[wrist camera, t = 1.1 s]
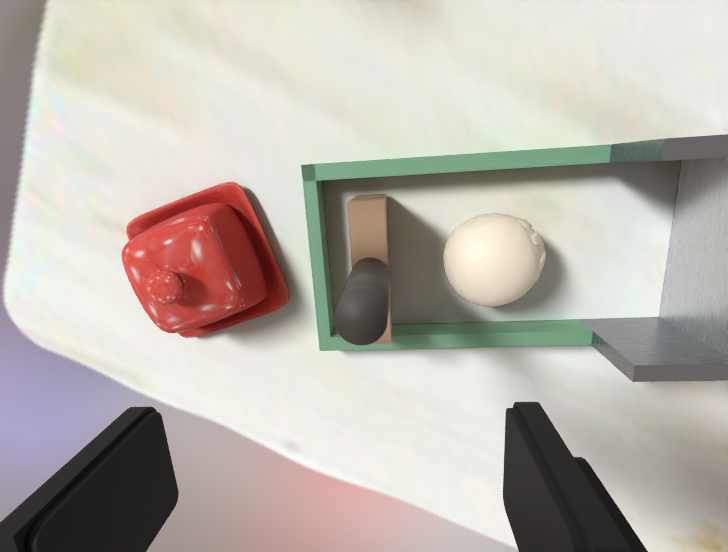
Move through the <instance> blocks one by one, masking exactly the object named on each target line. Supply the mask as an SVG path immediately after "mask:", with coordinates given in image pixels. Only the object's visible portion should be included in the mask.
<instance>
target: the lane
mask: <svg viewBox="0 0 728 552" xmlns="http://www.w3.org/2000/svg"><path fill="white" fill-rule="evenodd" d="M610 152H611V145H597V146H582V147H567V148H551V149H536V150H521V151H506V152H491V153H476V154H461V155H445V156H430V157H415V158H400V159H385V160H370V161H355V162H340V163H324V164H309V165H301V167H302V177H303V187H304V197H305V207H306V217H307V227H308V237H309V247H310V257H311V267H312V277H313V287H314V297H315V307H316V317H317V327H318V337H319V347H320V351H335V350H379V349H423V348H467V347H511V346H556V345H591V342H592V332H593V331H592V330H591V329H590V328H589V327H587V326H586V325H585V324H584V323H583V322H581V321H580V320H579V319H576V320H541V321H506V322H470V323H435V324H399V325H392V330H391V343H388V344H369V345H354V344H351V343H349V342H347V341H345V340H344V339H343V338H342V337H341V336H340V335H339V334H338V333H337V331H336V329H335V326H334V314H333V303H332V292H331V280H330V269H329V257H328V246H327V235H326V223H325V212H324V200H323V189H322V180H336V179H352V178H368V177H384V176H400V175H416V174H432V173H448V172H464V171H480V170H496V169H512V168H529V167H545V166H561V165H577V164H593V163H609V162H610Z"/></svg>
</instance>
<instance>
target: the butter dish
mask: <svg viewBox="0 0 728 552" xmlns="http://www.w3.org/2000/svg"><path fill="white" fill-rule="evenodd" d="M127 236H128V239H129V242H128V243H127V244H126V245H125V246H124V248H123V251H122V261H123V265H124V268H125V271H126V274H127V276H128V279H129V281H130V283H131V285H132V288H133V289H134V292H135V294H136V296H137V297H138V299H139V301H140V303H141V304H142V306H143V308H144V310H145V311H146V313H147V314H148V315H149V317H150V318H151V320H152V321H153V322H154V323H155V324H156V326H158V327H159V328H160V329H161V330H163V331H165V332H168V333H178V334H180V335H181V336H183V337H187V338H190V337H196V336H200V335H202V334H207V333H211V332H214V331H217V330H220V329H223V328H226V327H229V326H233V325H235V324H238V323H241V322H244V321H247V320H250V319H253V318H256V317H259V316H262V315H265V314H267V313H270V312H272V311H275V310H276V309H278V308H280V307H282V306H284V305H285V304H286V303H287V302H288V301H289V291H288V288H287V285H286V283H285V280H284V277H283V275H282V273H281V270H280V268H279V266H278V263H277V261H276V259H275V256H274V254H273V252H272V250H271V247H270V245H269V242H268V240H267V238H266V236H265V233H264V231H263V229H262V226H261V224H260V222H259V219H258V218H257V215H256V213H255V211H254V209H253V207H252V204H251V202H250V201H249V199H248V197H247V195H246V193H245V192H244V190H243V189H242V187H241V186H240V185H238V184H237V183H235V182H226V183H222V184H219V185H217V186H214V187H210V188H208V189H205V190H203V191H200V192H197V193H195V194H192V195H190V196H187V197H185V198H182V199H179V200H177V201H175V202H172V203H169V204H167V205H164V206H162V207H159V208H157V209H155V210H152V211H150V212H147V213H145V214H142V215H140V216H138V217H137V218H135V219H133V220H132V221H131V222H130V223H129V224H128V226H127Z"/></svg>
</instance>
